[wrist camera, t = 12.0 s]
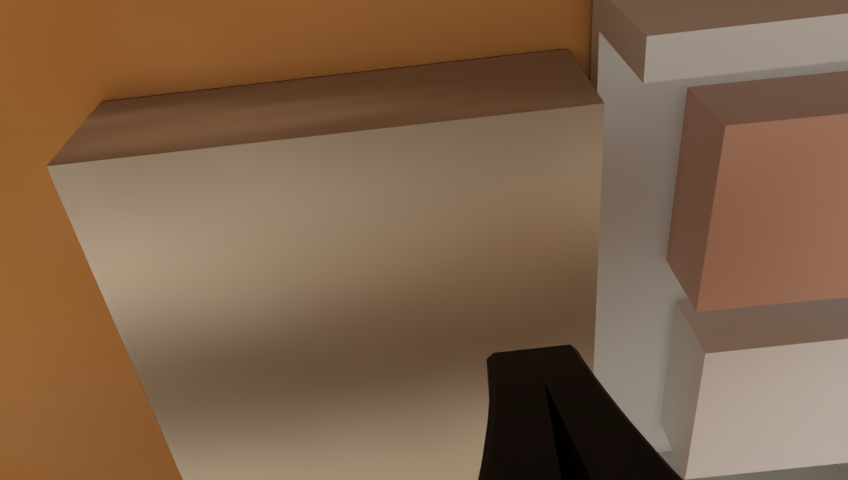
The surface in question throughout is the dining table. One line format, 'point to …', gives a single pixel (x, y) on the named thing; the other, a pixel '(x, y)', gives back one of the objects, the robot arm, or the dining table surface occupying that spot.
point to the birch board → (342, 257)
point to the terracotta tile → (762, 192)
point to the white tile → (757, 387)
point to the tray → (676, 166)
